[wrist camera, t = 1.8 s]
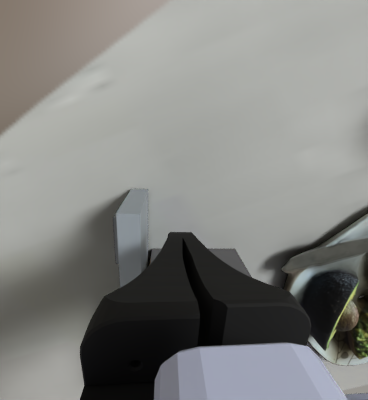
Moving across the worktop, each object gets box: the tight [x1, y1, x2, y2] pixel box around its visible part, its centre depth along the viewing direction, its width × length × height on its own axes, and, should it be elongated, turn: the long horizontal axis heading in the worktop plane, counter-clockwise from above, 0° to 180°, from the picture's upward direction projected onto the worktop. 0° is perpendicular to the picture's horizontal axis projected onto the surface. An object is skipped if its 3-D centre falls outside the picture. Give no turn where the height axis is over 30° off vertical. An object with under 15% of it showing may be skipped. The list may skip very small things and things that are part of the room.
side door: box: [113, 189, 148, 288], centre depth 15 cm, size 17×2×5 cm, turn 177°
